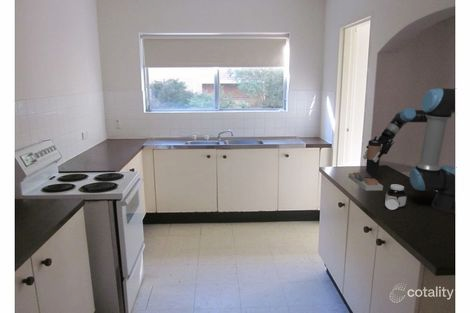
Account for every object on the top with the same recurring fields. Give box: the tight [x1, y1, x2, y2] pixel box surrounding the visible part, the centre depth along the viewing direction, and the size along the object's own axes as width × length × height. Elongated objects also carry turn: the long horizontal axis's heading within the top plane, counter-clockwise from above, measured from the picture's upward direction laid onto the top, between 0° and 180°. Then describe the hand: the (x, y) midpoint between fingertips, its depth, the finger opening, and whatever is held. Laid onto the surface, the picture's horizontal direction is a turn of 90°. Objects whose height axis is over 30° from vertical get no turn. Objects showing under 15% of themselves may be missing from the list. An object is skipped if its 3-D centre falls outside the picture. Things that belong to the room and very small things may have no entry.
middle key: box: [359, 173, 372, 181], centre depth 228 cm, size 6×6×3 cm
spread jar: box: [384, 183, 408, 211], centre depth 187 cm, size 12×11×12 cm
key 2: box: [364, 177, 379, 185], centre depth 219 cm, size 6×6×3 cm
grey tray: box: [347, 172, 384, 192], centre depth 228 cm, size 28×11×3 cm, turn 4°
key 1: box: [353, 172, 364, 177], centre depth 237 cm, size 6×6×3 cm
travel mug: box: [365, 139, 382, 174], centre depth 216 cm, size 8×8×20 cm
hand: (369, 159), depth 214 cm, fingers closed on travel mug, 7 cm apart
